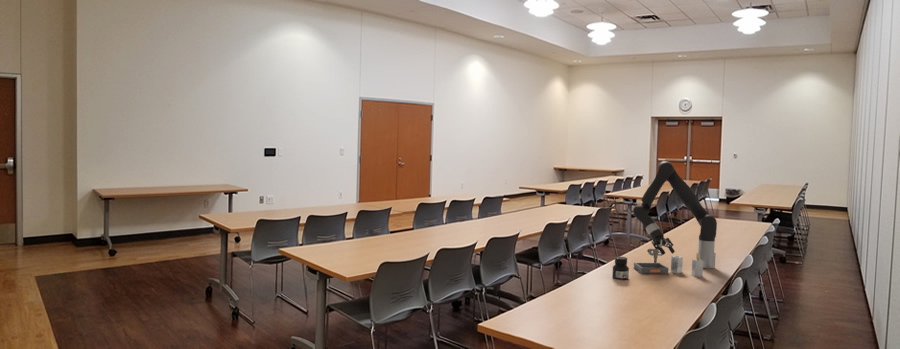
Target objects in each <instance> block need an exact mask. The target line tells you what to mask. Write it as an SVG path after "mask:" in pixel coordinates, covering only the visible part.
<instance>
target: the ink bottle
mask: <svg viewBox="0 0 900 349" xmlns="http://www.w3.org/2000/svg"><path fill="white" fill-rule="evenodd" d="M629 269H630V267H629V266H628V257H625V256H615V257H614V264H613V265H612V275H611V276H612V278H613V279H615V280H619V281H620V280H622V281H623V280H624V281H625V280H628V279H629V277H630V274H629Z"/></svg>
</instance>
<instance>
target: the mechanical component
mask: <svg viewBox="0 0 900 349" xmlns="http://www.w3.org/2000/svg"><path fill="white" fill-rule="evenodd" d="M646 251H647V252H648V255H649V256H651V257H652V256H653V263H658V262H657V260H658V257H661V256H663V255H662V254H661V252H660V251H659V250H658V249H655V248H648V249H647V250H646Z"/></svg>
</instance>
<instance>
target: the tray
mask: <svg viewBox="0 0 900 349" xmlns="http://www.w3.org/2000/svg"><path fill="white" fill-rule="evenodd" d="M633 269H634V270H635V271H637V272H638V273H640V274H641V275H669V267H667V266H666V265H664V264H662V263H660V262H657V263H654V262H633Z"/></svg>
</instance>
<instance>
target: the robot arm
mask: <svg viewBox="0 0 900 349" xmlns="http://www.w3.org/2000/svg"><path fill="white" fill-rule="evenodd" d="M666 181H667V182H668V183H669V185H670V186H671V188H672V189H673V192H674V193H675V195H676V197H678V199H679V200H680V201H681V203H683V205H684V206H685V207H686V208H687V209H688V210H689V211H690V213H691V214H692V215H693V217H694V218H695V219H696V221H697V223H698V224H699V226H700V232H699V235H698V248H697V251H698V252H697V253H700V259H701V260H703V269H706V270H707V269H709V270H710V269H715V268H716V257H717V256H716V255H717V254H716V252H715V244H716V243H715V242H716V238H717V231H718V230H717V226H718V225H717V224H718V222H717V219H716V218H715V217H714V216H713V215H711V214H710V213H709V212H708V211H707V210H706V209H705V208H704V207H703V206H702V204H701V202H700V200H699V198H698V197H697V194H696V193H695V192H694V191H693V189H692V188H691V187H690V185H689V184H688V183H687V182H685V180H684V179H682V177H681V176H680V175H679V174H678V172H677V171H676V169H675V167H674V165H673V164H672V162H670V161H667V160H662V161H661V162H659V163H658V165H657V172H656V174H655V177H654V179H653V181H652V182H651V184H650V185H649V186H648V188H647V189H646V190H645V192H644V193H643V195H642V197H641V202H642V203H641V205H638V204H637V205H635V206H634V207H633V210H632V213H633V215H634V216H635V217H636V219H637V220H638V221H639V222H640V223H641V224H642V226H643V228H644V229H645V230H646V232H647V234H648V235H649V237H650V238H651V244H652V246H653V247H654V249H658V251H659V252H661V253H660V254H662V256H663V255H665V254H666V251H665V249H664V248H667V249H668V250H669V251H670V253H671V254H674V253H675V252H676V251H675V249H674V248H673V246H674V244H673V242H672V241H671V239H670V238H669V237H667V238H665V237H664V235H665V234H664V233H663V231H662V229H661V228H660V226H658V224H657V223H656V222H655V220H654V218H652V217H651V216H650V215H649V213H650V211H651V208H652V204H653V202H654V201H655V199H656V198H657V196H658V194H659V192H660V191H661V189H662V187H663V186H664V184H665V182H666ZM663 247H664V248H663Z"/></svg>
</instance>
